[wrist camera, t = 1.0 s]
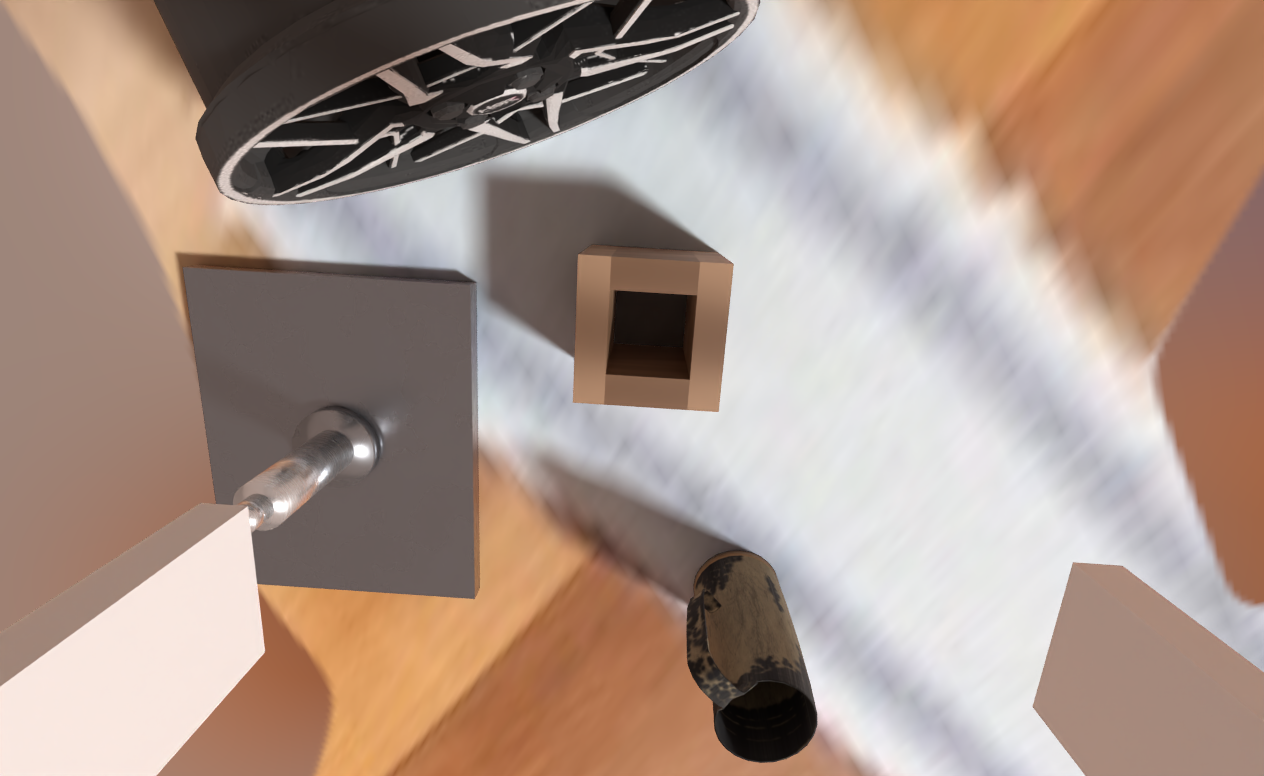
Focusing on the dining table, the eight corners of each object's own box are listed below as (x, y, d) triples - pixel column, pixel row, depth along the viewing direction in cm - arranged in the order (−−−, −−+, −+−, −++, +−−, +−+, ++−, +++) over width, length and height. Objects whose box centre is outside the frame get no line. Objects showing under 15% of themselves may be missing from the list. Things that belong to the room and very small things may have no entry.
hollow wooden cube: (592, 244, 35) (577, 254, 28) (717, 252, 35) (733, 263, 28) (587, 366, 37) (572, 402, 30) (706, 374, 37) (718, 411, 30)
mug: (797, 593, 41) (855, 745, 29) (732, 640, 42) (763, 805, 31) (718, 510, 39) (746, 637, 28) (652, 562, 41) (653, 703, 29)
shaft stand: (197, 264, 36) (16, 289, 26) (476, 282, 36) (405, 314, 26) (238, 571, 42) (104, 691, 31) (479, 587, 41) (423, 714, 31)
